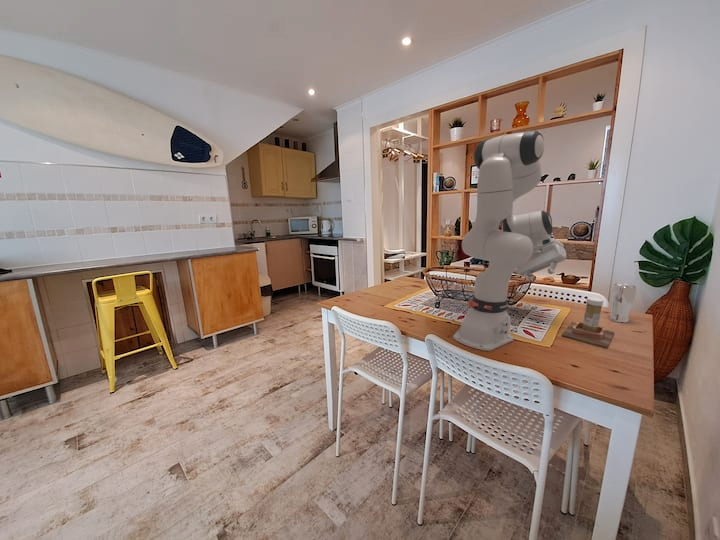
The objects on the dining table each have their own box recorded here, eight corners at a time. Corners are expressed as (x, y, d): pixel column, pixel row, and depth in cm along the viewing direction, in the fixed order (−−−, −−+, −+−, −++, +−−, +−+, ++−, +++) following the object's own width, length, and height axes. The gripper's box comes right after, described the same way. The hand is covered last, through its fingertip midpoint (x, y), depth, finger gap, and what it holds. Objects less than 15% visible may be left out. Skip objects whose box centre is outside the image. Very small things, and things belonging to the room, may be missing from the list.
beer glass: (634, 323, 114) (642, 287, 111) (617, 323, 114) (624, 288, 111) (619, 316, 121) (626, 283, 118) (603, 316, 121) (609, 283, 118)
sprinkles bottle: (578, 330, 107) (584, 296, 104) (590, 330, 107) (596, 296, 104) (587, 335, 102) (593, 300, 99) (600, 335, 102) (606, 300, 99)
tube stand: (607, 348, 95) (608, 341, 94) (561, 336, 104) (562, 329, 104) (613, 333, 105) (615, 326, 105) (571, 323, 115) (572, 317, 114)
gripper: (513, 257, 130) (513, 282, 123) (556, 236, 112) (558, 264, 106) (524, 262, 131) (524, 288, 124) (567, 242, 114) (570, 271, 107)
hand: (540, 277), depth 115 cm, fingers open, 8 cm apart
